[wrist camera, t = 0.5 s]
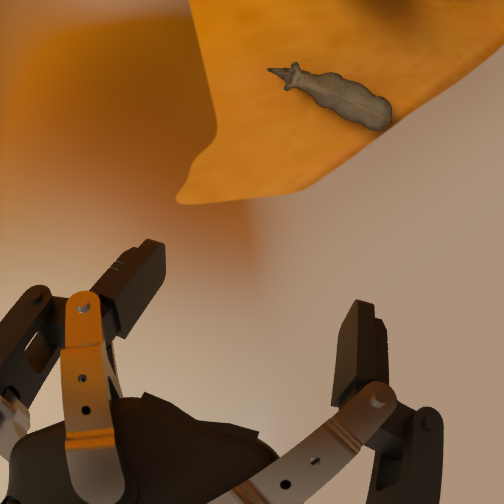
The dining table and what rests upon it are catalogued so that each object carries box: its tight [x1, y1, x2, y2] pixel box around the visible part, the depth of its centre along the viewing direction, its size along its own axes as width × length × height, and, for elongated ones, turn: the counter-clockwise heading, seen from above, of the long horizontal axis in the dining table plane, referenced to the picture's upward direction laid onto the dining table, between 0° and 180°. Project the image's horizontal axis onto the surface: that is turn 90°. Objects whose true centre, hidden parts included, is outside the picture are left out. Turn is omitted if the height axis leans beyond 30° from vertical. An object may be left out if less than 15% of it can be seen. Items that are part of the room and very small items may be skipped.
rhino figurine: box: [266, 62, 392, 131], centre depth 27 cm, size 4×14×6 cm, turn 72°
